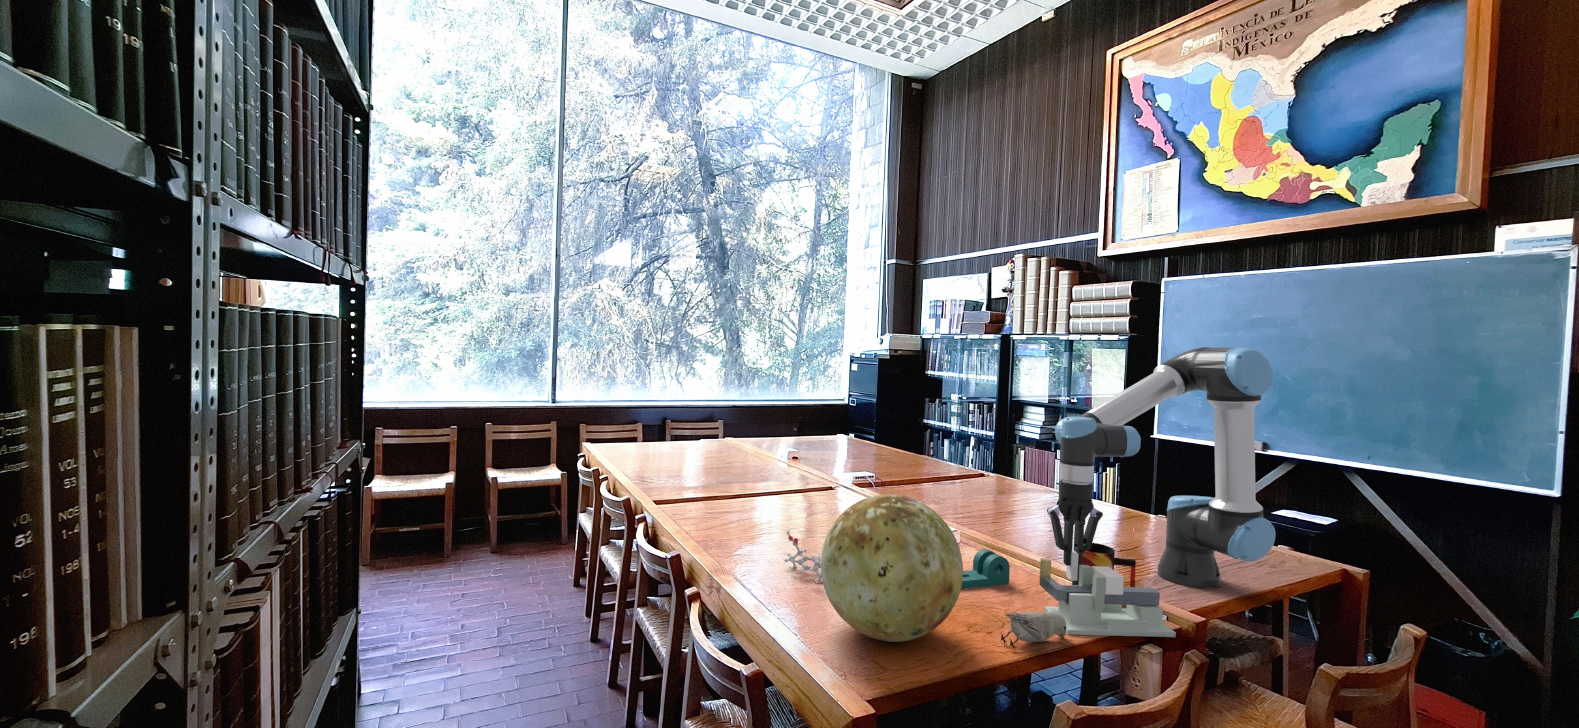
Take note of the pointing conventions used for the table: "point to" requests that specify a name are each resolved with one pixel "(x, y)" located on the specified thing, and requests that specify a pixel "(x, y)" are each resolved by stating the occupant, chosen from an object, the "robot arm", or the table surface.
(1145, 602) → the bent bar
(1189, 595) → the table surface
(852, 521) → the globe
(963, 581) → the bracket
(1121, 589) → the block
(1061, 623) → the decorative bird
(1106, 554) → the mug
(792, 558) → the molecular model
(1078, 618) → the stepped block fixture
